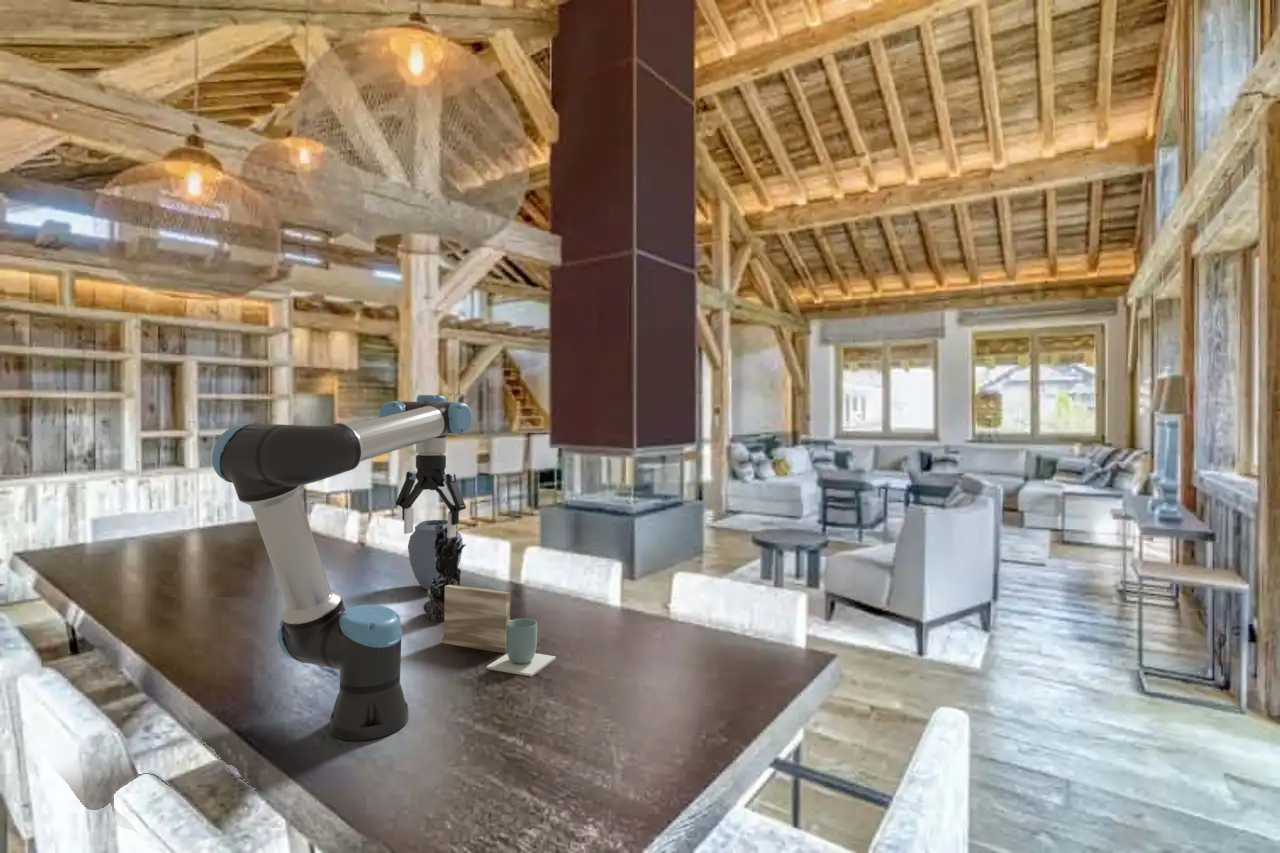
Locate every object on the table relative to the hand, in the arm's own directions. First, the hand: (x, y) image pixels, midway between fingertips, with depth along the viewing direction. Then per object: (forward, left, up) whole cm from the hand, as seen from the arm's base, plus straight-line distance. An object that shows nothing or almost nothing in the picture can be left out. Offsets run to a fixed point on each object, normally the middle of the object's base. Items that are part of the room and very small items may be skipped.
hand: (429, 535), depth 171 cm
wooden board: (+13, -6, -33) cm, 36 cm away
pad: (+7, -24, -33) cm, 41 cm away
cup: (+7, -24, -32) cm, 41 cm away
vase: (+59, +43, -33) cm, 80 cm away
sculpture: (+32, +19, -33) cm, 50 cm away
